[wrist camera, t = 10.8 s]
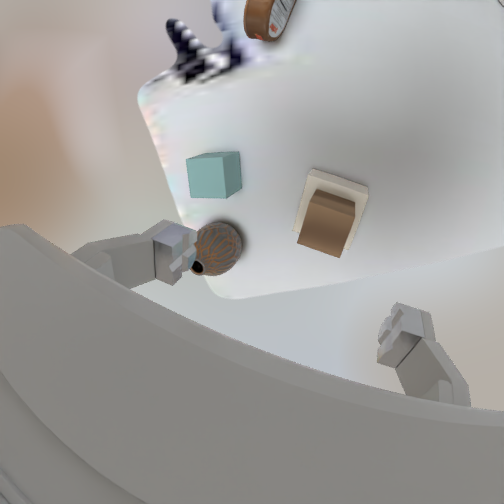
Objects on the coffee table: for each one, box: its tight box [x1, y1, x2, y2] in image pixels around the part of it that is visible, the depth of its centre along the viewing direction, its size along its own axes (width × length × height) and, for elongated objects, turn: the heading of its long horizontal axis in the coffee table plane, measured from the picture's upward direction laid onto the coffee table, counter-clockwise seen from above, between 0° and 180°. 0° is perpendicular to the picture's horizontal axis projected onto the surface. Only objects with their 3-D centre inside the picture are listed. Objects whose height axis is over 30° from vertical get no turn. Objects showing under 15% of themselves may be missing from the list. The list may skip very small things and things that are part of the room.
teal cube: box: [186, 152, 242, 198], centre depth 34 cm, size 5×5×5 cm
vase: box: [190, 223, 242, 276], centre depth 37 cm, size 7×7×9 cm
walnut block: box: [297, 189, 355, 258], centre depth 28 cm, size 4×4×5 cm
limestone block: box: [292, 169, 369, 250], centre depth 31 cm, size 7×7×4 cm
